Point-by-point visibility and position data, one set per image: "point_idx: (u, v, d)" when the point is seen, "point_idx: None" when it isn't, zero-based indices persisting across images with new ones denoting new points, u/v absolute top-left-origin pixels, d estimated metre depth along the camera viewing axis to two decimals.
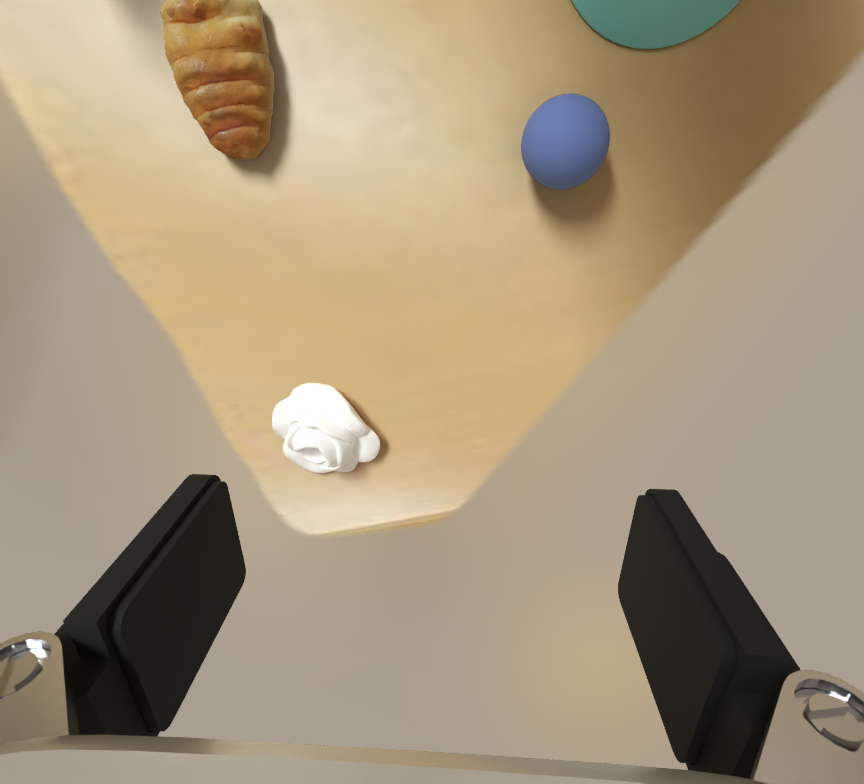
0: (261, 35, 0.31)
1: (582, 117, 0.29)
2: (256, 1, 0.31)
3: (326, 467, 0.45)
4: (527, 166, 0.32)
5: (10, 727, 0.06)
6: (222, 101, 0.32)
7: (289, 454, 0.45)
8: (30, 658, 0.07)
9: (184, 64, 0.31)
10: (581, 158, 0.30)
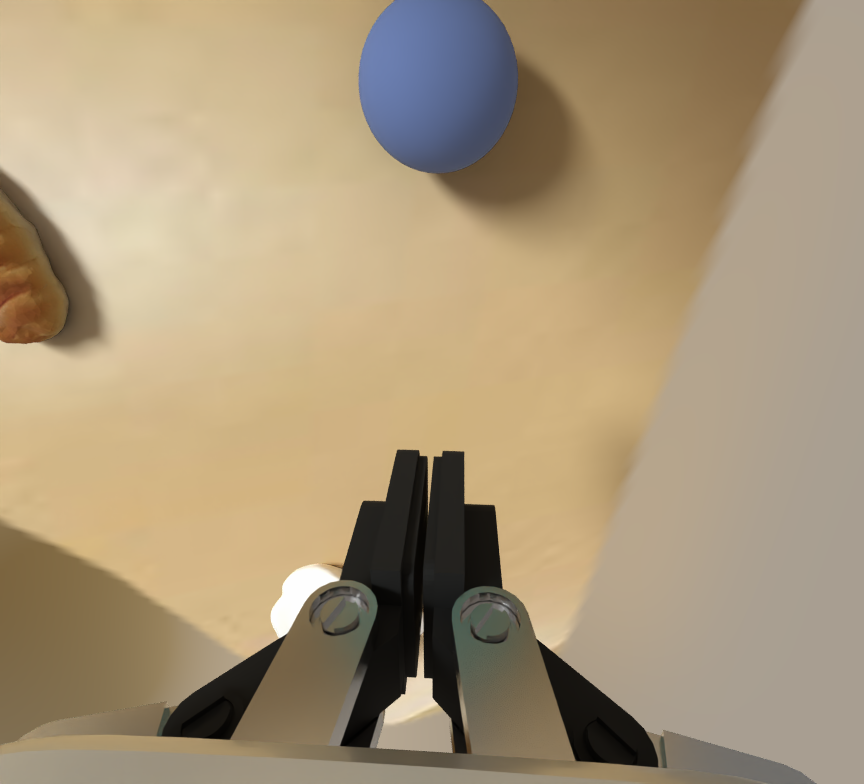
0: None
1: (429, 21, 0.14)
2: None
3: None
4: (395, 157, 0.18)
5: (314, 668, 0.07)
6: None
7: None
8: (354, 610, 0.08)
9: None
10: (466, 95, 0.15)
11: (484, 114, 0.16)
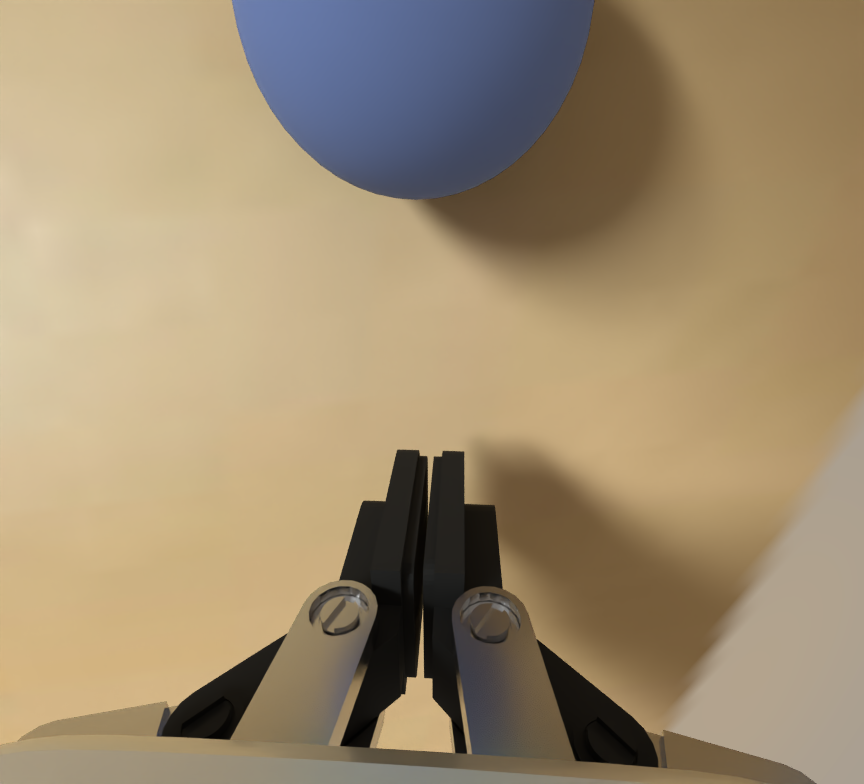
0: None
1: None
2: None
3: None
4: (326, 168, 0.08)
5: (314, 668, 0.07)
6: None
7: None
8: (354, 610, 0.08)
9: None
10: (480, 9, 0.06)
11: (523, 65, 0.06)
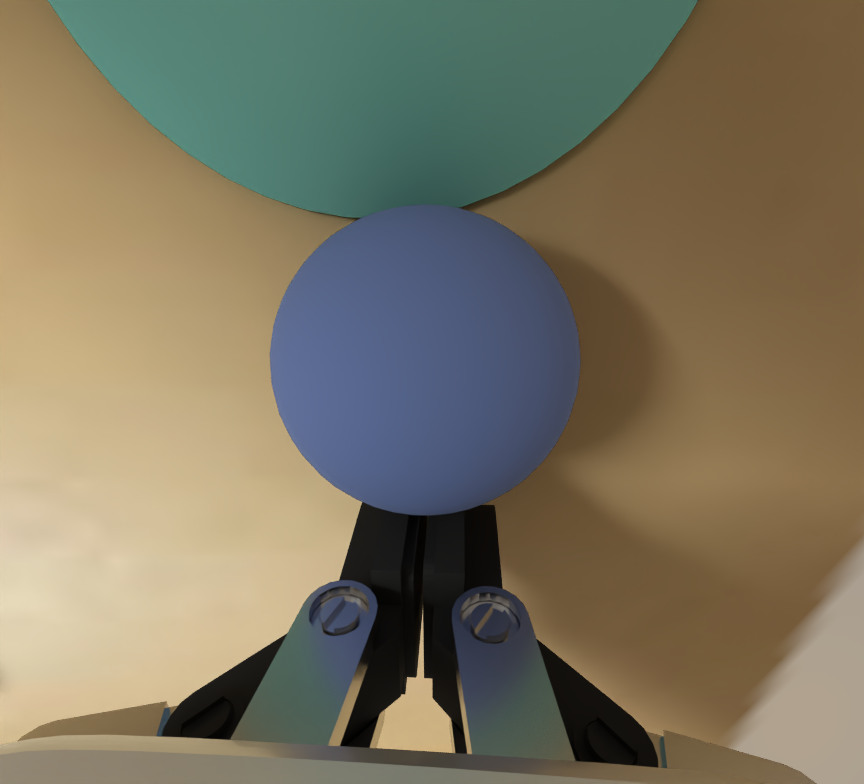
0: None
1: None
2: None
3: None
4: (331, 454, 0.07)
5: (314, 668, 0.07)
6: None
7: None
8: (354, 610, 0.08)
9: None
10: (499, 267, 0.07)
11: (540, 316, 0.07)
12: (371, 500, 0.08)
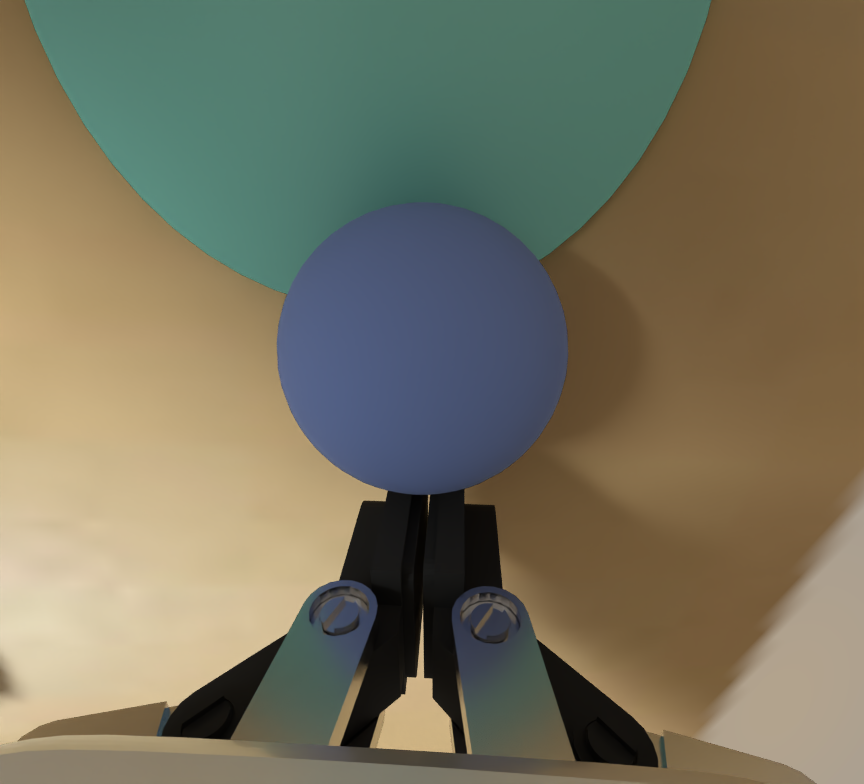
0: None
1: None
2: None
3: None
4: (334, 377, 0.07)
5: (314, 667, 0.07)
6: None
7: None
8: (354, 610, 0.08)
9: None
10: (486, 222, 0.08)
11: (526, 259, 0.08)
12: (371, 441, 0.08)
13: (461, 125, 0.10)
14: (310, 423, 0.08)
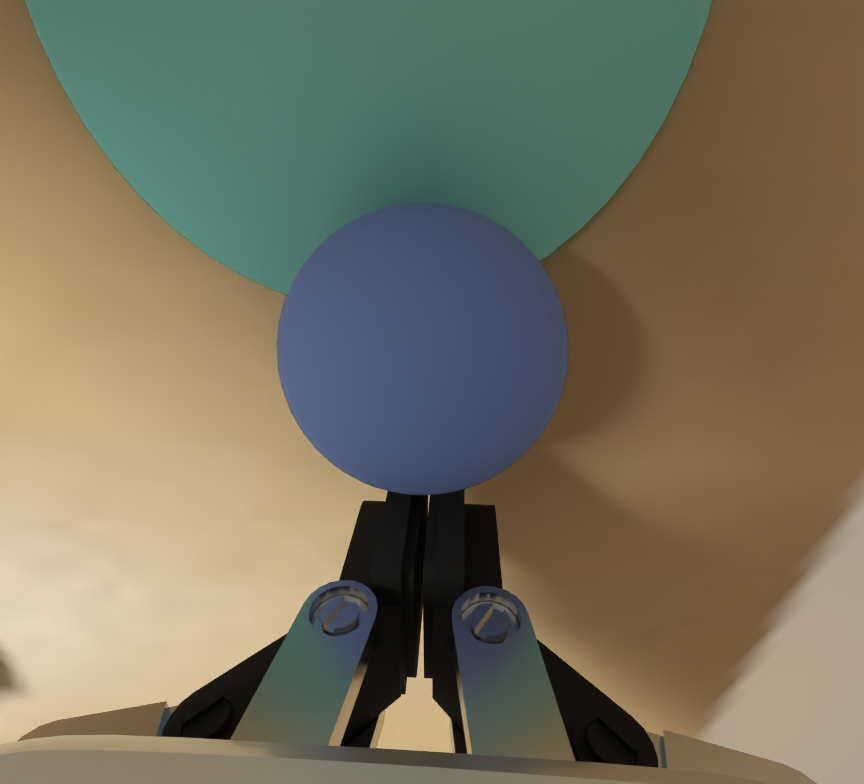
0: None
1: None
2: None
3: None
4: (334, 377, 0.07)
5: (314, 667, 0.07)
6: None
7: None
8: (354, 610, 0.08)
9: None
10: (486, 222, 0.08)
11: (526, 259, 0.08)
12: (371, 441, 0.07)
13: (461, 126, 0.10)
14: (310, 423, 0.08)
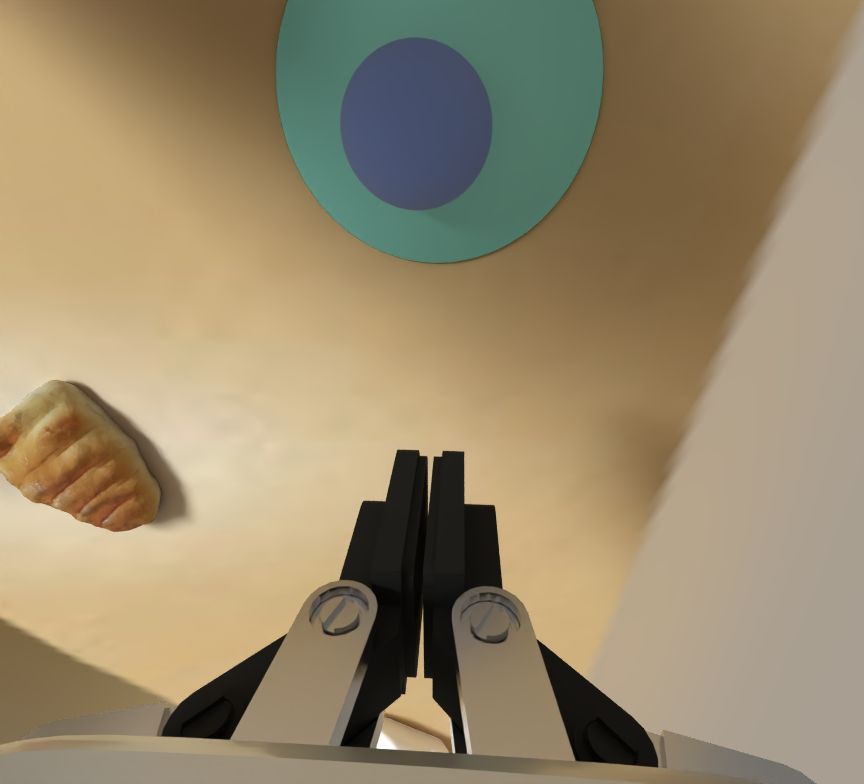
0: (77, 417, 0.25)
1: None
2: (55, 385, 0.25)
3: None
4: None
5: (314, 667, 0.07)
6: (81, 500, 0.26)
7: None
8: (354, 610, 0.08)
9: (26, 491, 0.26)
10: None
11: None
12: None
13: None
14: None
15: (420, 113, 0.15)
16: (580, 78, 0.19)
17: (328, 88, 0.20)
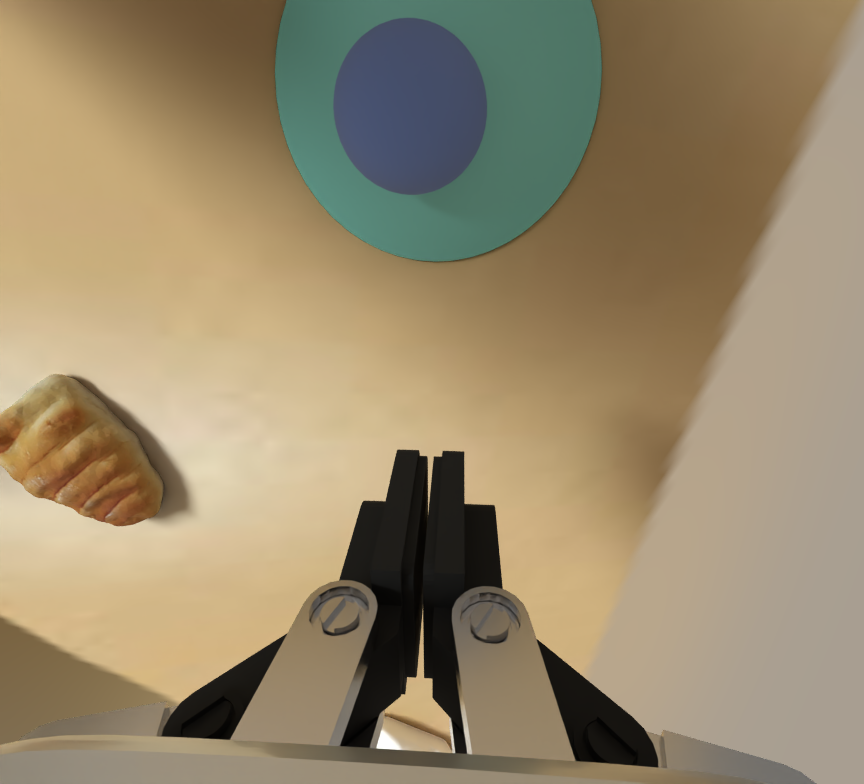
0: (78, 411, 0.25)
1: None
2: (56, 379, 0.25)
3: None
4: None
5: (314, 667, 0.07)
6: (83, 495, 0.26)
7: None
8: (354, 610, 0.08)
9: (28, 485, 0.26)
10: None
11: None
12: None
13: (480, 167, 0.21)
14: None
15: (408, 75, 0.15)
16: (579, 76, 0.19)
17: (328, 87, 0.20)
